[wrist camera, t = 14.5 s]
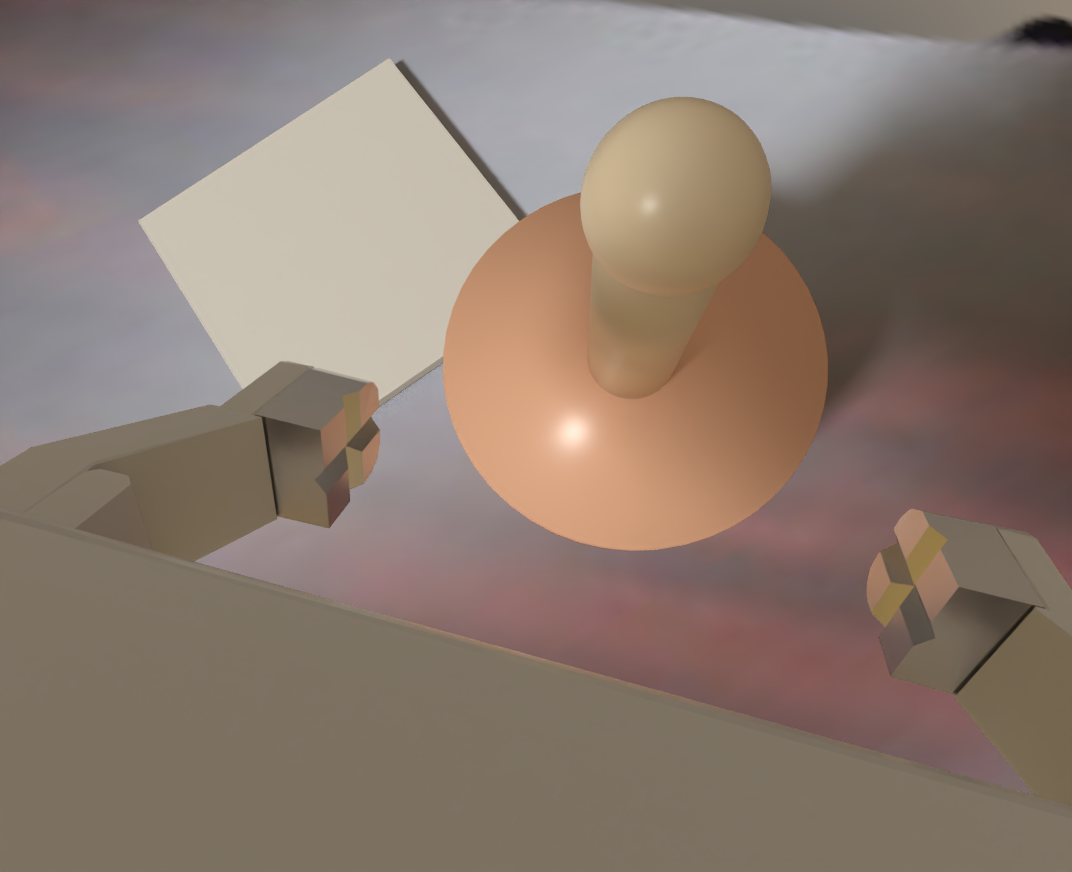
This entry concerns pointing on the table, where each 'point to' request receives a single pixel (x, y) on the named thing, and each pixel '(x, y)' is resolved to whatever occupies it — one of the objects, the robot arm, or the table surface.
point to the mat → (335, 239)
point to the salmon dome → (641, 342)
